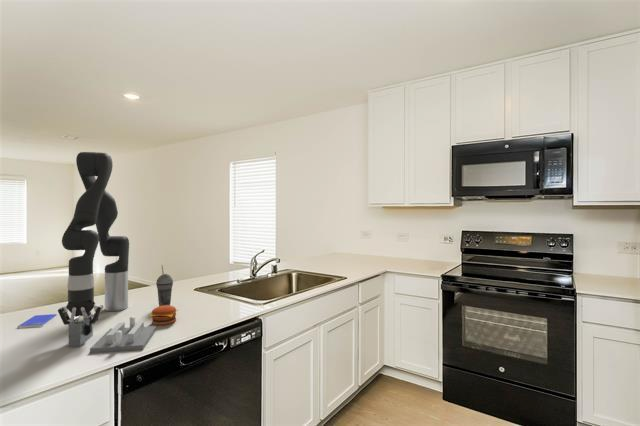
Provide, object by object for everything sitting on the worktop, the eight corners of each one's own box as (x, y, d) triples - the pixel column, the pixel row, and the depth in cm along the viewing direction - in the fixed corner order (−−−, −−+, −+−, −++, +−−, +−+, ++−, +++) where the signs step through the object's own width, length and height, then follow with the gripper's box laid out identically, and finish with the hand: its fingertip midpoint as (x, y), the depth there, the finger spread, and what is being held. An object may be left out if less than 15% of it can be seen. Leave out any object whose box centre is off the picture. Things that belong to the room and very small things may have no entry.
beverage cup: (172, 309, 159) (173, 266, 158) (155, 310, 156) (155, 266, 155) (173, 304, 165) (173, 263, 165) (156, 306, 163) (156, 264, 162)
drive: (82, 336, 126) (82, 314, 125) (92, 335, 127) (92, 313, 126) (68, 347, 116) (68, 323, 116) (80, 346, 117) (80, 323, 117)
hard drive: (42, 323, 134) (57, 313, 146) (17, 325, 132) (34, 315, 144) (42, 327, 134) (57, 317, 146) (17, 329, 132) (34, 319, 144)
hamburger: (155, 318, 146) (156, 303, 146) (179, 318, 147) (179, 302, 147) (147, 326, 137) (147, 309, 137) (172, 326, 138) (172, 309, 138)
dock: (110, 332, 130) (110, 316, 129) (156, 329, 133) (156, 314, 133) (89, 353, 112) (89, 334, 112) (143, 349, 116) (143, 331, 115)
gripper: (107, 283, 126) (107, 330, 126) (63, 284, 123) (63, 332, 123) (99, 288, 119) (99, 338, 119) (52, 290, 115) (52, 340, 116)
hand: (81, 334), depth 121 cm, fingers closed on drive, 3 cm apart
